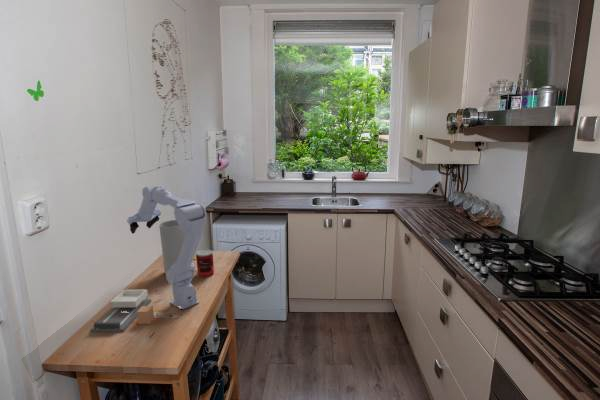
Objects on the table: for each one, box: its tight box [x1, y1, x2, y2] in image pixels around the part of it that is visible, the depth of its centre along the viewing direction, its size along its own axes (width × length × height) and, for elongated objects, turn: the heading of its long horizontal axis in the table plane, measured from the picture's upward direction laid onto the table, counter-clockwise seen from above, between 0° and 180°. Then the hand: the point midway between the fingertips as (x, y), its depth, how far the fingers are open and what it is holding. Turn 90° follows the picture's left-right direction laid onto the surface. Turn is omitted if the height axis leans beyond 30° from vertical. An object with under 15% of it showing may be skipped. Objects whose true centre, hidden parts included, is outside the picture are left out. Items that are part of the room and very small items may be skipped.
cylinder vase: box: [159, 219, 186, 275], centre depth 177 cm, size 12×12×25 cm
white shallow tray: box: [109, 289, 149, 309], centre depth 146 cm, size 10×10×4 cm
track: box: [90, 298, 152, 333], centre depth 141 cm, size 22×12×3 cm, turn 177°
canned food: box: [195, 249, 215, 278], centre depth 176 cm, size 8×8×11 cm
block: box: [137, 305, 155, 325], centre depth 136 cm, size 4×4×5 cm
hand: (140, 229), depth 161 cm, fingers open, 7 cm apart
